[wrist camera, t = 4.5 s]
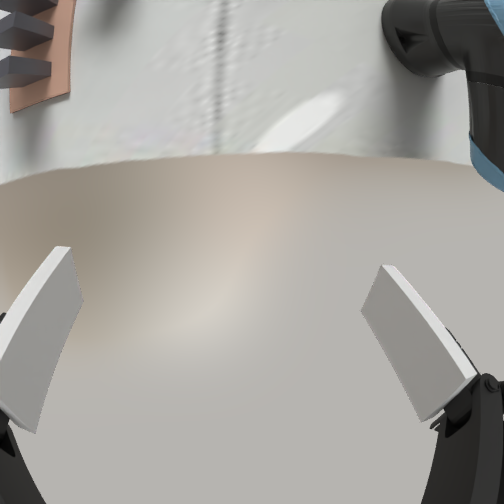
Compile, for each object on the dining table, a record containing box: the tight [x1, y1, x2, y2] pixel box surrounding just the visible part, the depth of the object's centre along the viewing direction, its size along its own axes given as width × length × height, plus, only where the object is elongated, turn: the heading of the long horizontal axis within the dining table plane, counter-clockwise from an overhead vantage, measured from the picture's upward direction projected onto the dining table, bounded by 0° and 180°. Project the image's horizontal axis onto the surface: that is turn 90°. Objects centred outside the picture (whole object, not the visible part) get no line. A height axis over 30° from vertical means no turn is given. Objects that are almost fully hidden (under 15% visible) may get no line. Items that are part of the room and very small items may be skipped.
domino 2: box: [0, 11, 54, 51], centre depth 13 cm, size 2×5×10 cm, turn 89°
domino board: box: [10, 0, 76, 113], centre depth 15 cm, size 26×10×1 cm, turn 179°
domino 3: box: [0, 56, 52, 89], centre depth 15 cm, size 2×5×10 cm, turn 89°
